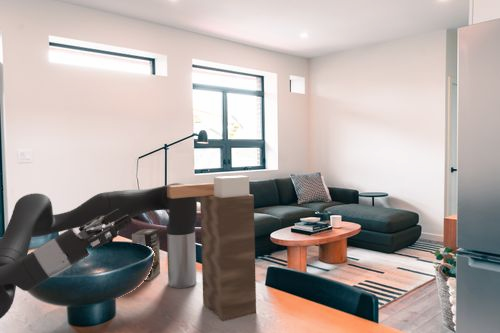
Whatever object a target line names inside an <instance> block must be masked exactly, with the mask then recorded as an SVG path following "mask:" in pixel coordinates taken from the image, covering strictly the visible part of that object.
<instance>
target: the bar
mask: <svg viewBox="0 0 500 333" xmlns="http://www.w3.org/2000/svg"><path fill="white" fill-rule="evenodd" d="M184 184H185V183H184ZM207 195H214V182H204V183H203V182H202V183H189V184H185V185H171V186H167V197H169V198H172V199H173V198H184V197H196V198H197V197H200V196H207Z"/></svg>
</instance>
